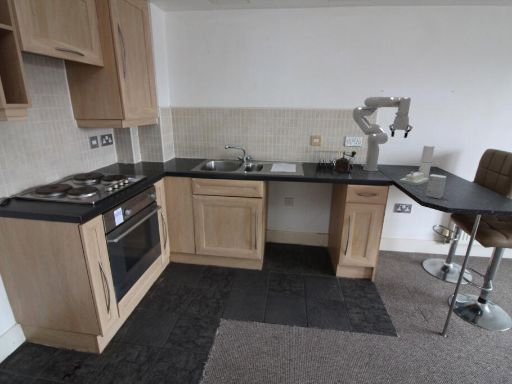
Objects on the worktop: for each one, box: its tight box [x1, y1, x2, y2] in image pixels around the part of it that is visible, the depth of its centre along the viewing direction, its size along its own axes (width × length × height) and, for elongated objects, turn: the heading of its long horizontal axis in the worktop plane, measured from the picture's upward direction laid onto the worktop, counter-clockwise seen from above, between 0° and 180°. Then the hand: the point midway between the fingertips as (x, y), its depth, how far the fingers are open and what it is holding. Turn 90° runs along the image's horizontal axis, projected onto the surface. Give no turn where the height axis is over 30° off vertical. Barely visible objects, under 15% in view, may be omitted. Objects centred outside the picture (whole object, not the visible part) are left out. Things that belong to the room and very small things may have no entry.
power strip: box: [405, 171, 424, 182], centre depth 208 cm, size 5×20×4 cm, turn 130°
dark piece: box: [334, 150, 357, 173], centre depth 236 cm, size 16×11×18 cm
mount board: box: [399, 168, 429, 186], centre depth 208 cm, size 12×22×8 cm, turn 130°
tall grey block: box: [418, 144, 436, 178], centre depth 218 cm, size 7×7×25 cm
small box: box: [425, 173, 448, 199], centre depth 172 cm, size 8×6×13 cm
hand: (398, 137), depth 218 cm, fingers open, 9 cm apart
